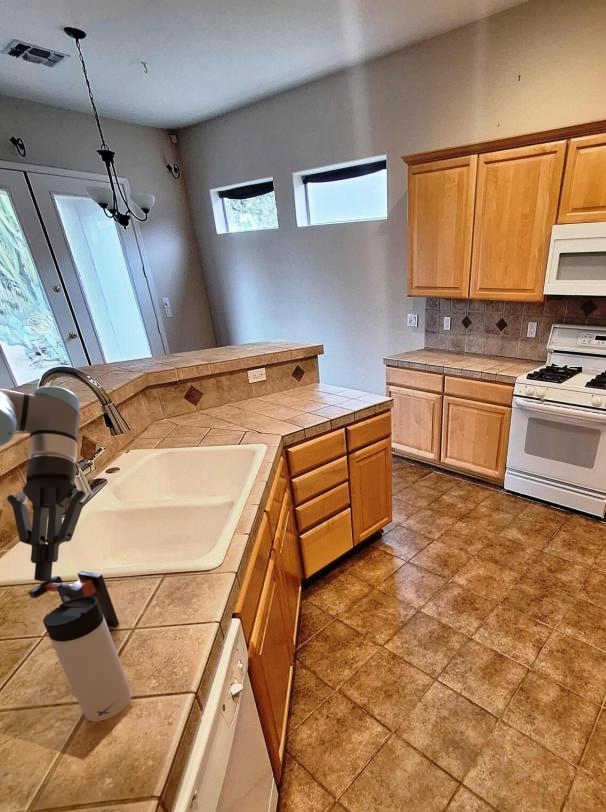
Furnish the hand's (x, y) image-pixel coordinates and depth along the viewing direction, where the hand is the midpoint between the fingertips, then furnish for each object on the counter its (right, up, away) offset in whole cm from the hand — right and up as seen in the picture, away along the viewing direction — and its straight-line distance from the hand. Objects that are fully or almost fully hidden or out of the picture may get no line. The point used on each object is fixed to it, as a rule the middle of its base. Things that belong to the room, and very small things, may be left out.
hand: (42, 580), depth 78 cm
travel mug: (+21, -18, -12) cm, 30 cm away
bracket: (+10, -11, +1) cm, 15 cm away
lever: (+6, -2, -2) cm, 7 cm away
